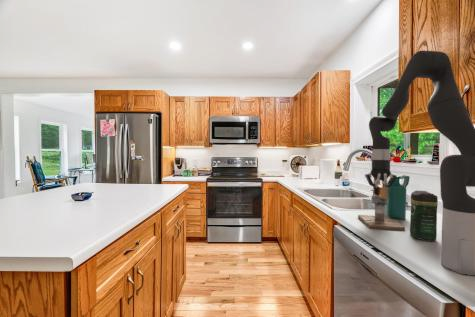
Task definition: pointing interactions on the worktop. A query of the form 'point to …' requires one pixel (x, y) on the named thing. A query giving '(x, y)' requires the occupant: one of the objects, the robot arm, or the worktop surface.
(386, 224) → the stand
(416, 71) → the robot arm
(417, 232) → the coffee jar
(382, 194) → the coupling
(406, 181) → the square teal bottle
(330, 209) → the worktop surface
